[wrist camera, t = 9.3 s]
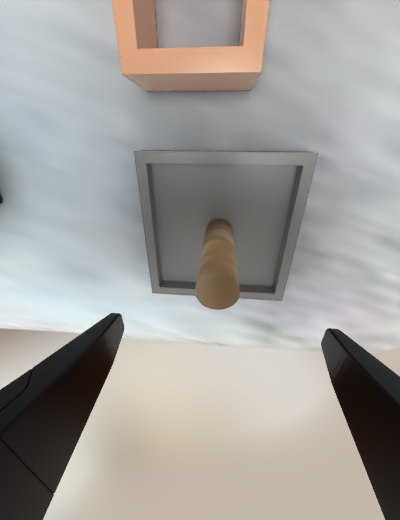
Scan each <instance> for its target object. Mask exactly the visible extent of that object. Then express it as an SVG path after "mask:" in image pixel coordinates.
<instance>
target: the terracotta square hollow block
mask: <svg viewBox="0 0 400 520" xmlns="http://www.w3.org/2000/svg"><path fill="white" fill-rule="evenodd" d="M112 5H113V12H114V20H115V27H116V35H117V42H118V50H119V57H120V65H121V72H122V75H123V76H125V77H126V78H128V79H129V80H131V81H132V82H134V83H135V84H137V85H138V86H140V87H141V88H143V89H144V90H146V91H221V90H251V89H252V87H253V85H254V83H255V82H256V80H257V78H258V76H259V75H260V73H261V69H262V60H263V51H264V42H265V33H266V24H267V15H268V6H269V0H242V14H241V29H240V43H239V46H223V47H185V48H158V45H157V30H156V15H155V1H154V0H112Z"/></svg>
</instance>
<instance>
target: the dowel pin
mask: <svg viewBox="0 0 400 520" xmlns="http://www.w3.org/2000/svg"><path fill="white" fill-rule="evenodd" d="M195 294H196V297H197V299H198V301H199V302H200V303H201V304H202V305H204V306H206V307H208V308H211V309H218V310H219V309H225V308H228V307H230V306H232V305H233V304H235V303H236V301H237V300H238V298H239V295H240V288H239V280H238V272H237V264H236V256H235V248H234V240H233V232H232V227H231V225H230V223H229V222H228V221H226V220H224V219H214V220H212V221H211V222H209V223H208V225H207V227H206V231H205V237H204V243H203V248H202V254H201V259H200V265H199V271H198V276H197V282H196V287H195Z"/></svg>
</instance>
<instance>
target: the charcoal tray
mask: <svg viewBox="0 0 400 520" xmlns="http://www.w3.org/2000/svg"><path fill="white" fill-rule="evenodd" d="M134 155H135V163H136V170H137V178H138V186H139V193H140V201H141V209H142V217H143V224H144V232H145V240H146V248H147V255H148V263H149V271H150V278H151V286H152V293H159V294H176V295H193V296H196V294H195V287H196V282H197V276H198V271H199V265H200V259H201V254H202V248H203V243H204V237H205V231H206V227H207V225H208V223H209V222H211V221H212V220H214V219H224V220H226V221H228V222H229V223H230V225H231V227H232V232H233V240H234V248H235V256H236V264H237V272H238V280H239V288H240V295H239V298H243V299H260V300H277V301H282V299H283V294H284V290H285V286H286V282H287V278H288V274H289V270H290V266H291V262H292V258H293V254H294V250H295V246H296V242H297V238H298V234H299V229H300V225H301V221H302V217H303V213H304V209H305V205H306V201H307V197H308V193H309V189H310V185H311V181H312V177H313V173H314V168H315V164H316V160H317V156H318V153H314V152H277V151H169V150H141V151H134Z"/></svg>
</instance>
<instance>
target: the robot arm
mask: <svg viewBox="0 0 400 520" xmlns="http://www.w3.org/2000/svg"><path fill="white" fill-rule="evenodd" d="M1 203H2V200H1V197H0V204H1ZM123 332H124V324H123V319H122V315H121V314H119V313H111V314H109V315H108V316H106V317H105V318H103V319H102V320H101V321H99V322H98V323H96V324H95V325H93V326H92V327H91V328H89V329H88V330H86V331H85V332H83V333H82V334H81V335H79V336H78V337H76V338H75V339H74V340H72V341H70V342H69V343H68V344H66V345H65V346H63V347H62V348H60V349H59V350H58V351H56V352H55V353H53V354H52V355H50V356H49V357H47V358H46V359H45V360H43V361H42V362H40V363H39V364H37V365H36V366H35V367H33V368H32V369H30V370H29V371H27V372H26V373H24V374H23V375H21V376H20V377H19V378H17V379H16V380H14V381H13V382H11V383H10V384H8V385H7V386H5V387H4V388H2V389H1V390H0V520H43V518H44V516H45V513H46V511H47V508H48V507H49V505H50V502H51V500H52V498H53V496H54V494H53V493H55V491H56V489H57V486H58V484H59V482H60V480H61V478H62V475H63V473H64V471H65V469H66V466H67V464H68V462H69V460H70V458H71V455H72V453H73V451H74V449H75V447H76V444H77V442H78V440H79V438H80V436H81V433H82V431H83V429H84V427H85V425H86V422H87V420H88V418H89V416H90V413H91V411H92V409H93V407H94V404H95V402H96V400H97V398H98V396H99V394H100V391H101V389H102V387H103V385H104V383H105V380H106V378H107V376H108V373H109V371H110V369H111V367H112V365H113V362H114V359H115V356H116V353H117V350H118V347H119V344H120V341H121V338H122V335H123ZM321 346H322V350H323V354H324V357H325V360H326V365H327V368H328V372H329V375H330V379H331V382H332V385H333V388H334V390H335V393H336V395H337V398H338V401H339V403H340V406H341V408H342V411H343V413H344V416H345V418H346V421H347V423H348V426H349V429H350V431H351V434H352V436H353V438H354V441H355V444H356V446H357V449H358V451H359V454H360V456H361V459H362V461H363V464H364V466H365V469H366V471H367V474H368V477H369V479H370V482H371V484H372V487H373V490H374V492H375V495H376V497H377V499H378V502H379V505H380V507H381V510H382V512H383V515H384V517H385V520H400V377H399V376H398V375H397V374H396V373H394V372H393V371H392V370H390V369H389V368H388V367H387V366H385V365H384V364H383V363H381V362H380V361H379V360H378V359H376V358H375V357H374V356H372V355H371V354H370V353H369V352H367V351H366V350H365V349H363V348H362V347H361V346H360V345H358V344H357V343H356V342H354V341H353V340H352V339H351V338H349V337H348V336H347V335H345V334H344V333H343V332H342V331H340V330H339V329H331V328H329V329H327V330H326V332H325V334H324V337H323V339H322V342H321Z"/></svg>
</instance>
